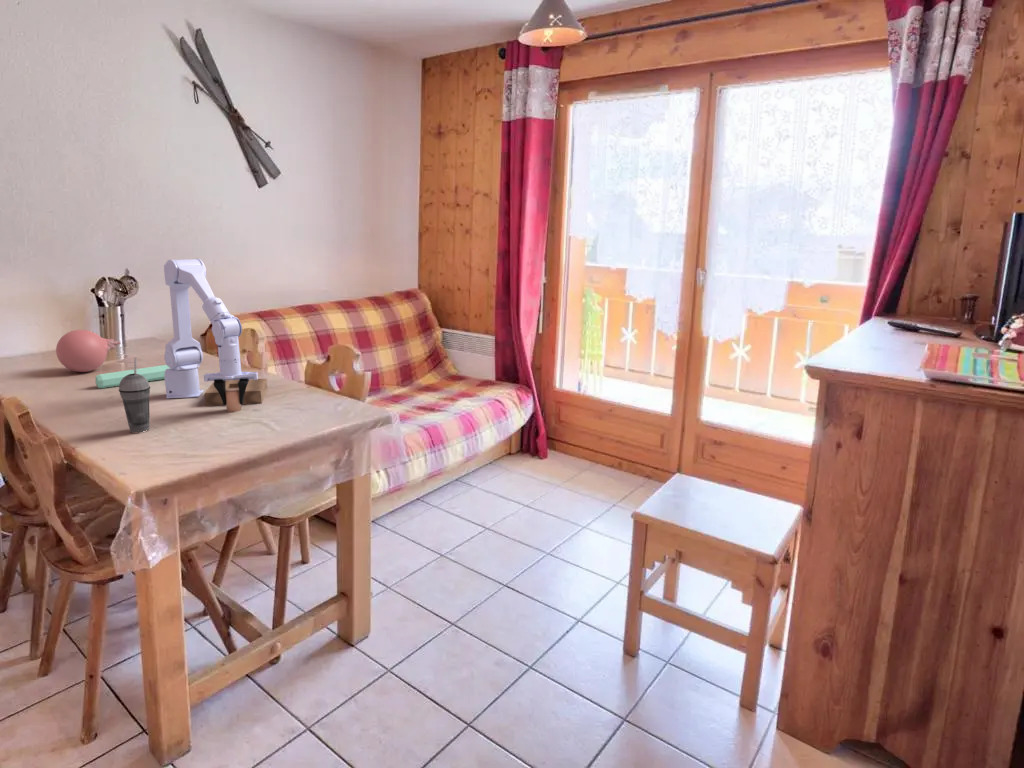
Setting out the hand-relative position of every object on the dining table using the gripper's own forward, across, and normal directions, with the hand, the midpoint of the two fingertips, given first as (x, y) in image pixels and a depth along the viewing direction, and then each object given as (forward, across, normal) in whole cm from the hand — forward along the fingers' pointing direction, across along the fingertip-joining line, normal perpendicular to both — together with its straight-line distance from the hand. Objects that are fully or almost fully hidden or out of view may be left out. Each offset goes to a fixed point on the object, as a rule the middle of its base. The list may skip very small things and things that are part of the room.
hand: (233, 403), depth 191 cm
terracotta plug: (+2, 0, 0) cm, 2 cm away
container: (+2, -37, +40) cm, 55 cm away
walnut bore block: (+2, -1, +14) cm, 14 cm away
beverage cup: (+2, -21, -16) cm, 26 cm away
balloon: (+2, -58, +61) cm, 84 cm away
